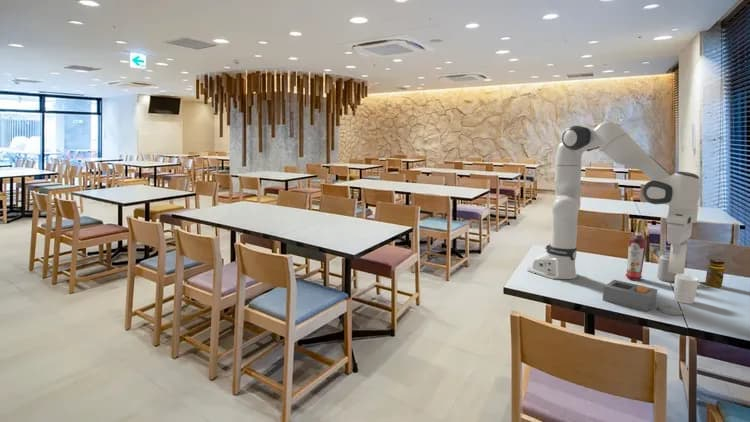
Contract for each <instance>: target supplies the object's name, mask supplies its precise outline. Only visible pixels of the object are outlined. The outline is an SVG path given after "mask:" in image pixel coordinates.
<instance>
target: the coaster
mask: <svg viewBox="0 0 750 422" xmlns="http://www.w3.org/2000/svg"><path fill="white" fill-rule="evenodd" d="M657 310H658V312H660V313H662V314H665V315H670V316H676V315H679V316H682V315H683V310H682V309H679V308H677V307H674V306H669V305H658V306H657Z"/></svg>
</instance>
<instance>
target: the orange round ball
mask: <svg viewBox="0 0 750 422" xmlns="http://www.w3.org/2000/svg"><path fill="white" fill-rule="evenodd" d="M637 285H638V286H637V287H636V291H639V292H644V293H647V290H648V287H649V286H646V285H639V284H637Z"/></svg>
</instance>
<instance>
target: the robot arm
mask: <svg viewBox="0 0 750 422" xmlns="http://www.w3.org/2000/svg"><path fill="white" fill-rule="evenodd" d="M561 141H562V142H560V143H559V144H558V146H557V149H556V154H555V155H556V156H555V160H554V161H555V163H554V191H555V193H554V194H555V199H554V201H553V203H552V208H551V236H550V243H549V244H547V245H546V246H545V247H544V248H545V250H546V251H545V252H543V253H541V254H539V255H537V256H536V257H534V259H533V261H532V264H531V265H529V266H528V267H527V269H526V270H527V272H529V273H533V274H535V273H536V275H540V276H542V277H545V278H549V279H551V280H573V279H577V270H576V258H577V238H578V237H577V236H578V219H579V218H578V217H579V215H578V214H579V210H580V208H581V194H582V193H581V192H582V191H581V187H582V186H581V179H582V177H581V175H582V157H583V153H584V152H591V151H593V150H597V149H599V148H600V149H601V150H602V151H603V152H604V154H605V155H606V156H607V157H608V158H609V159H611V161H613V162H614V163H616V164H617V165H622V166H627V167H631V168H634V169H637V170H639V171H640V172H642V173H643V174H644V175H645V176H646V177H647V178H648V179H649V180H650V181H648V182H647V183H645V184H644V186H643V189H642V196H643V199H644V200H645V201H646V202H647V203H649V204H652V205H666V204H667V205H668V212H667V213H668V214H667V215H666V220H665V221H666V223H667V227H666V229H667V230H666V242H667V244H668V245H671V244H672V247H673V254H679V250H680V249H679V246H680V244H681V243H682V242H684V241H687V240H688V239H689V238H691V236H692V231H693V223H694V224H695V223H697V220H698V215H699V213H698V212H699V206H698V202H699V200H700V197H701V178H700V176H699V175H697V174H696V173H692V172H688V171H677V172H674V173H673V174H671V173H670V172H669V171H668V170H667V169H665V168H664V167H663V166H662V165H661V164H660V163H659V162H658V161H657V160H656V159H654V157H652V156H651V155H650V154H648V152H646V151H645V150H644V149H643V148H642V147H641V146H640V145H639V144H638V143H637V142H636V140H634V139H633V137H631V136H630V135H629V134H628V133H627V132H626V131H625V130H624V128H622V127H621V126H619V125H618V124H617V123H615V122H614V121H611V120H606V121H603V122H601V123H599V124H579V125H572V126H569V127H567V128H566V129H565V130H564V131H563V133H562V137H561Z"/></svg>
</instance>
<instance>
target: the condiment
mask: <svg viewBox="0 0 750 422" xmlns="http://www.w3.org/2000/svg"><path fill="white" fill-rule="evenodd" d="M724 273H725V261H724V260H721V259H717V258H710V259H709V262H708V265H707V268H706V276H705V281H698V285H701V286H702V287H703V288H712V289H722V290H726V288H725V287H723V282H724V275H725V274H724Z"/></svg>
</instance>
